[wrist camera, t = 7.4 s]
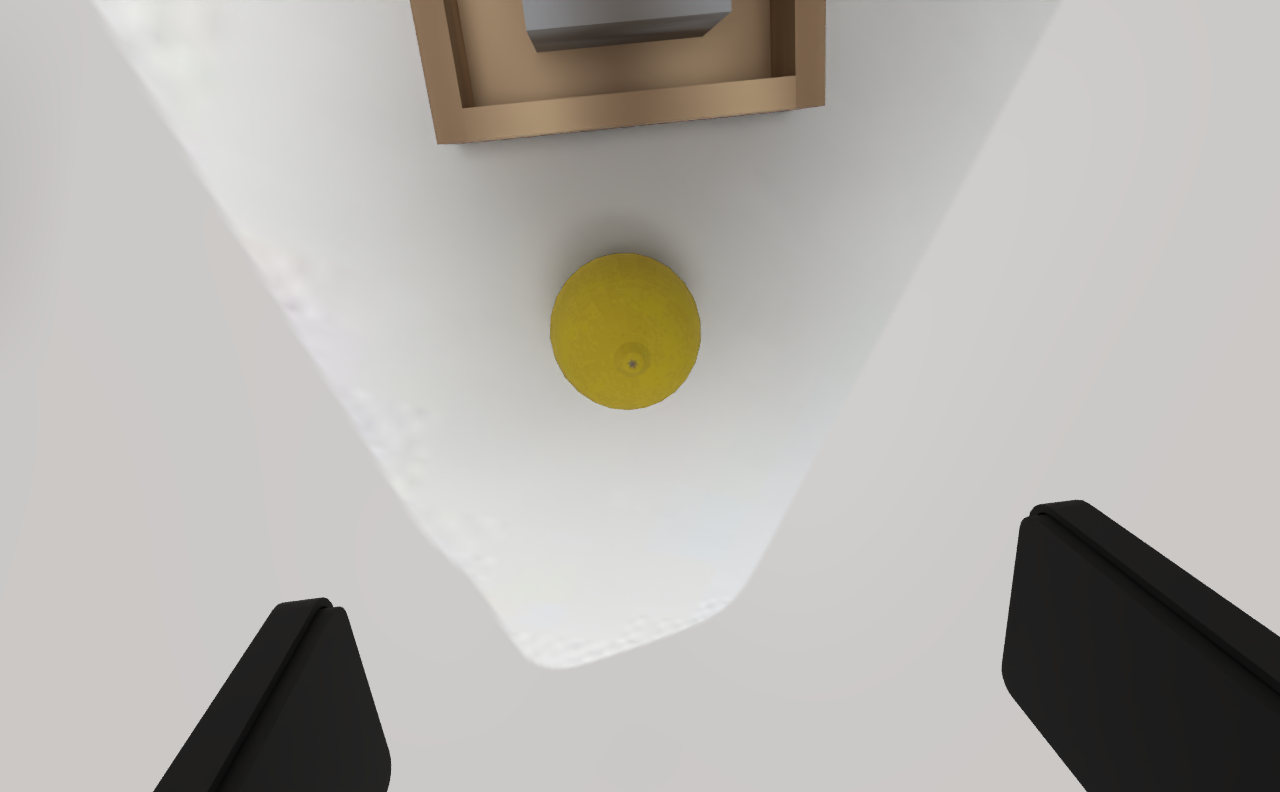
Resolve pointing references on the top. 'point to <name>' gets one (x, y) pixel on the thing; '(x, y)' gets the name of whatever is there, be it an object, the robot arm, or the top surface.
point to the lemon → (625, 331)
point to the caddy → (613, 63)
